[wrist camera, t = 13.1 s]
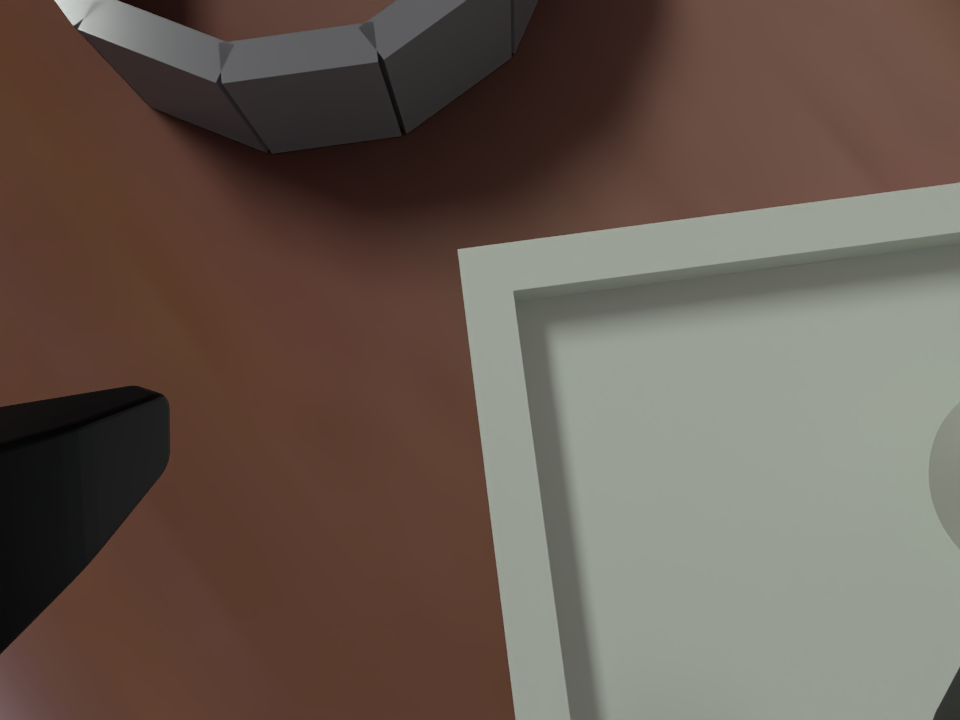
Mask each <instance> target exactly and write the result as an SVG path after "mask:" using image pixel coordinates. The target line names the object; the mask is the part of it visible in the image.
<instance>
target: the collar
mask: <svg viewBox="0 0 960 720" xmlns="http://www.w3.org/2000/svg"><path fill="white" fill-rule="evenodd" d="M55 2H56V3H57V4H58V6H59V7H60V8H61V10H62V11H63V13H64V14H65V15H66V17H67V18H68V19H69V21H70V22H71V24H72V25H73V26H74V27H75V28H76V29H77V30H78V31H79V33H80V34H81V35H82V36H83V37H84V38H85V39H86V40H87V41H88V42H89V43H90V44H91V45H92V46H93V47H94V48H95V49H96V50H97V52H98V53H99V54H100V55H101V56H102V57H103V58H104V59H105V60H106V61H107V62H108V63H109V64H110V65H111V66H112V67H113V68H114V70H115V71H116V72H117V73H118V74H119V75H120V76H121V77H122V78H123V79H124V80H125V81H126V82H127V83H128V84H129V85H130V86H131V87H132V89H133V90H134V91H135V92H136V93H137V94H138V95H139V96H140V97H141V98H142V99H143V100H144V101H145V102H146V103H147V104H149V105H150V106H151V108H154V109H156V110H159V111H162V112H164V113H167V114H169V115H172V116H174V117H177V118H179V119H182V120H184V121H187V122H189V123H192V124H194V125H197V126H199V127H202V128H205V129H207V130H210V131H212V132H215V133H217V134H220V135H222V136H225V137H227V138H230V139H232V140H235V141H237V142H240V143H242V144H245V145H248V146H250V147H253V148H255V149H258V150H260V151H263V152H265V153H267V152H268V150H270V151H271V153H272V154H274V153H281V152H289V151H296V150H303V149H311V148H318V147H326V146H333V145H340V144H348V143H355V142H362V141H370V140H377V139H384V138H392V137H399V136H402V133H401V127H402V129H403V130H404V131H405V132H406V134H408V133H409V132H410V131H412V130H413V129H415V128H416V127H417V126H419V125H420V124H421V123H423V122H424V121H426V120H427V119H428V118H430V117H431V116H432V115H434V114H435V113H437V112H438V111H439V110H441V109H442V108H443V107H445V106H446V105H448V104H449V103H450V102H452V101H453V100H454V99H456V98H457V97H459V96H460V95H461V94H463V93H464V92H465V91H467V90H468V89H470V88H471V87H472V86H474V85H475V84H476V83H478V82H479V81H481V80H482V79H483V78H485V77H486V76H487V75H489V74H490V73H492V72H493V71H494V70H496V69H497V68H498V67H500V66H501V65H503V64H504V63H505V62H507V61H508V60H509V59H511V53H513V54H515V52H516V50H517V48H518V45H519V43H520V41H521V39H522V36H523V34H524V32H525V30H526V27H527V25H528V23H529V21H530V18H531V16H532V14H533V12H534V9H535V7H536V5H537V3H538V0H396V1H395V2H394V3H392V4H391V5H389V6H388V7H387V8H385V9H384V10H382V11H381V12H380V13H378V14H377V15H375V16H374V17H373V18H371V19H370V20H368V21H367V22H366V23H360V24H353V25H346V26H339V27H331V28H324V29H317V30H310V31H303V32H296V33H288V34H281V35H274V36H267V37H260V38H252V39H245V40H238V41H231V42H225V41H223V40H220V39H217V38H215V37H212V36H210V35H207V34H204V33H202V32H199V31H196V30H194V29H191V28H189V27H186V26H183V25H181V24H178V23H176V22H173V21H170V20H168V19H165V18H162V17H160V16H157V15H155V14H152V13H149V12H147V11H144V10H142V9H139V8H136V7H134V6H131V5H128V4H126V3H123V2H121V1H118V0H55Z"/></svg>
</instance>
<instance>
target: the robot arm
mask: <svg viewBox="0 0 960 720" xmlns="http://www.w3.org/2000/svg"><path fill="white" fill-rule="evenodd" d="M169 455H170V410H169V403H168V400H167V398H166V397H165V396H164V395H163V394H161V393H158V392H155V391H152V390H148V389H145V388H142V387H139V386H126V387H120V388H114V389H108V390H102V391H96V392H90V393H83V394H77V395H71V396H65V397H59V398H53V399H47V400H40V401H34V402H28V403H22V404H16V405H10V406H4V407H0V654H1V653H2V652H3V651H4V650H5V649H6V648H7V647H8V646H9V645H10V644H11V643H12V642H13V641H14V640H15V639H16V638H17V637H18V636H19V635H20V634H21V633H22V632H23V631H24V630H25V629H26V628H27V627H28V626H29V625H30V624H31V623H32V622H33V621H34V620H35V619H36V618H37V617H38V616H39V615H40V614H41V613H42V612H43V611H44V610H45V609H46V608H47V607H48V606H49V605H50V604H51V603H52V602H53V601H54V600H55V599H56V597H57V596H58V595H59V594H60V593H61V592H62V591H63V590H64V589H65V588H66V587H67V586H68V585H69V584H70V583H71V582H72V581H73V580H74V579H75V578H76V577H77V576H78V575H79V574H80V573H81V572H82V571H83V570H84V569H85V567H86V566H87V565H88V564H89V563H90V562H91V561H92V559H93V558H94V557H95V556H96V555H97V554H98V552H99V551H100V550H101V549H102V548H103V546H104V545H105V544H106V543H107V541H108V540H109V539H110V538H111V536H112V535H113V534H114V533H115V532H116V530H117V529H118V528H119V527H120V525H121V524H122V523H123V522H124V520H125V519H126V518H127V517H128V515H129V514H130V513H131V512H132V510H133V509H134V508H135V507H136V506H137V504H138V503H139V502H140V501H141V499H142V498H143V497H144V496H145V494H146V493H147V492H148V491H149V489H150V488H151V487H152V486H153V485H154V483H155V482H156V481H157V480H158V478H159V477H160V476H161V474H162V473H163V472H164V470H165V468H166V466H167V463H168V460H169ZM933 720H960V667H959V669H958V671H957V673H956V675H955V676H954V678H953V680H952V682H951V684H950V686H949V688H948V690H947V691H946V693H945V695H944V697H943V699H942V701H941V703H940V705H939V706H938V708H937V710H936V712H935V715H934V718H933Z"/></svg>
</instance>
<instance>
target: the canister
mask: <svg viewBox="0 0 960 720" xmlns="http://www.w3.org/2000/svg"><path fill="white" fill-rule="evenodd" d="M928 474H929V487H930V492H931V497H932V502H933V505H934V508H935V511H936V514H937V516H938V518H939V520H940V522H941V524H942V526H943V528H944V529H945V531H946V532H947V534H948V536H949V537H950V539H951V540H952V541H953V542H954V544H955V545H956V546H957V547H958V548H959V550H960V402H959V403H958V404H957V405H956V406H955V407H954V408H953V409H952V410H951V411H950V413H949V414H948V415H947V417H946V418H945V419H944V421H943V422H942V424H941V426H940V428H939V430H938V432H937V434H936V437H935V439H934V442H933V445H932V449H931V454H930V458H929V471H928Z"/></svg>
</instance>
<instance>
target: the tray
mask: <svg viewBox="0 0 960 720" xmlns="http://www.w3.org/2000/svg"><path fill="white" fill-rule="evenodd" d="M458 257H459V265H460V273H461V281H462V290H463V298H464V306H465V314H466V322H467V330H468V338H469V346H470V354H471V362H472V370H473V379H474V387H475V395H476V403H477V411H478V419H479V427H480V435H481V443H482V451H483V459H484V468H485V476H486V484H487V492H488V500H489V508H490V516H491V524H492V532H493V540H494V548H495V556H496V565H497V573H498V581H499V589H500V597H501V605H502V613H503V621H504V629H505V637H506V645H507V654H508V662H509V670H510V678H511V686H512V694H513V702H514V710H515V718H516V720H933V718H934V715H935V712H936V710H937V708H938V706H939V705H940V703H941V701H942V699H943V697H944V695H945V693H946V691H947V690H948V688H949V686H950V684H951V682H952V680H953V678H954V676H955V675H956V673H957V671H958V669H959V667H960V550H959V548H958V547H957V546H956V545H955V544H954V542H953V541H952V540H951V539H950V537H949V536H948V534H947V532H946V531H945V529H944V528H943V526H942V524H941V522H940V520H939V518H938V516H937V514H936V511H935V508H934V505H933V502H932V497H931V492H930V487H929V474H928V471H929V458H930V454H931V449H932V445H933V442H934V439H935V437H936V434H937V432H938V430H939V428H940V426H941V424H942V422H943V421H944V419H945V418H946V417H947V415H948V414H949V413H950V411H951V410H952V409H953V408H954V407H955V406H956V405H957V404H958V403H959V402H960V183H954V184H947V185H939V186H932V187H924V188H917V189H909V190H902V191H894V192H886V193H879V194H871V195H864V196H856V197H849V198H841V199H834V200H826V201H819V202H811V203H803V204H796V205H788V206H781V207H773V208H766V209H758V210H751V211H743V212H736V213H728V214H720V215H713V216H705V217H698V218H690V219H683V220H675V221H668V222H660V223H653V224H645V225H637V226H630V227H622V228H615V229H607V230H600V231H592V232H585V233H577V234H569V235H562V236H554V237H547V238H539V239H532V240H524V241H517V242H509V243H502V244H494V245H486V246H479V247H471V248H464V249H458Z"/></svg>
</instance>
